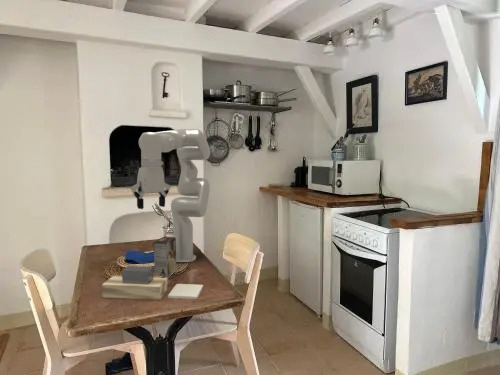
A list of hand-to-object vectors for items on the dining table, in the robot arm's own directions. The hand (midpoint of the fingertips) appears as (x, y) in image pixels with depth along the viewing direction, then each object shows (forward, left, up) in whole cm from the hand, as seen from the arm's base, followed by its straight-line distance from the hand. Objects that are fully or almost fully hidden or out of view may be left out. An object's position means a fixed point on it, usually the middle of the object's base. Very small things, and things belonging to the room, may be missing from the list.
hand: (151, 207), depth 133 cm
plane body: (+8, -4, -32) cm, 34 cm away
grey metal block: (+8, -3, -27) cm, 29 cm away
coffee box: (-12, +1, -33) cm, 35 cm away
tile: (+5, +15, -32) cm, 36 cm away
